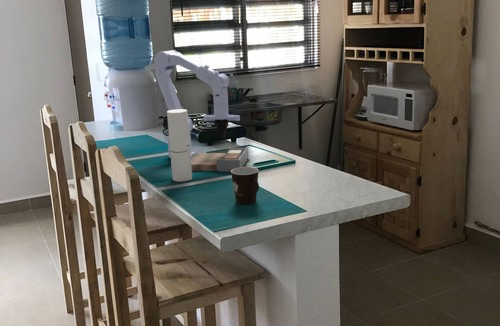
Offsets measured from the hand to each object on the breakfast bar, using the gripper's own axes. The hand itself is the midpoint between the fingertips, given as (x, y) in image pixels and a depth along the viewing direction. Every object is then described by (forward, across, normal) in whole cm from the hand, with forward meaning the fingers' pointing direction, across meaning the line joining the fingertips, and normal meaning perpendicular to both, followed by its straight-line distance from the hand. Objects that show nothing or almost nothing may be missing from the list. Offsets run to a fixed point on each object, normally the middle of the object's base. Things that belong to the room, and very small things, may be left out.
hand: (222, 138), depth 218 cm
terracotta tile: (+7, +6, -12) cm, 15 cm away
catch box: (+9, +6, -9) cm, 14 cm away
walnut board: (+9, -5, -9) cm, 13 cm away
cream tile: (+7, +6, -6) cm, 11 cm away
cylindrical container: (+9, -9, -27) cm, 30 cm away
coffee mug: (+9, +19, -51) cm, 55 cm away
